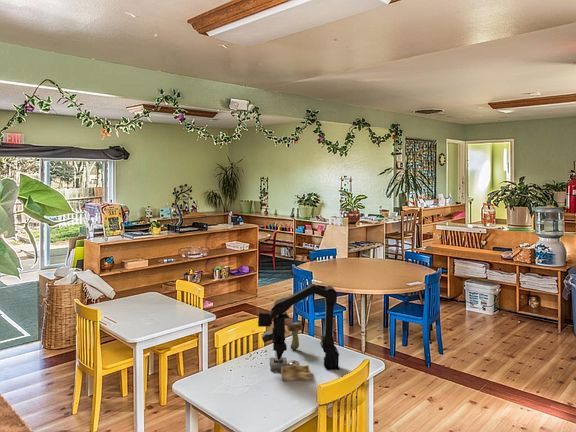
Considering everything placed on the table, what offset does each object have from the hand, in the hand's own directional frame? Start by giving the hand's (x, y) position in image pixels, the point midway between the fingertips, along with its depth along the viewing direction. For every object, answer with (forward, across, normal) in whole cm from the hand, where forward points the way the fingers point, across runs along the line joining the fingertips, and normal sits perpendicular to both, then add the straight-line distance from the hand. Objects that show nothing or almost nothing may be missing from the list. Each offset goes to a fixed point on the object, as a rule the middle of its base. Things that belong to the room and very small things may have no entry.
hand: (278, 357), depth 215 cm
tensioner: (+5, 0, +3) cm, 6 cm away
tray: (+5, +10, +8) cm, 13 cm away
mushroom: (+5, -21, +10) cm, 24 cm away
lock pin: (+5, 0, 0) cm, 5 cm away
